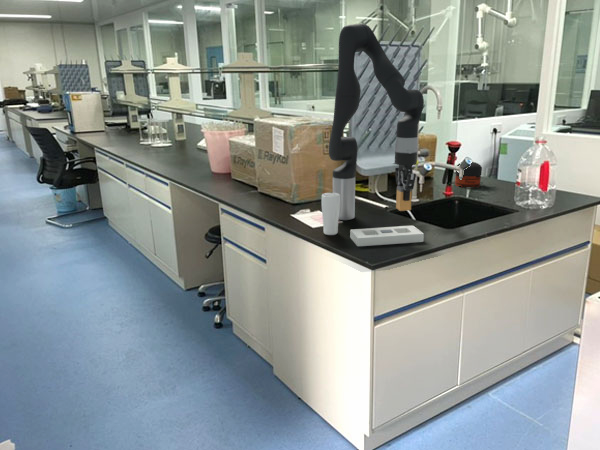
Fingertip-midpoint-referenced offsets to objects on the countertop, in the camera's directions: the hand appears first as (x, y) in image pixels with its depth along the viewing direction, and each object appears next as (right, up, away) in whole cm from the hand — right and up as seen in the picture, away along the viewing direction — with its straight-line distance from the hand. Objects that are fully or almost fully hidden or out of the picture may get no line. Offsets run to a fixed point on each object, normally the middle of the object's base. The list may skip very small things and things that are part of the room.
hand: (403, 198), depth 168 cm
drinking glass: (-25, -13, +11) cm, 30 cm away
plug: (0, -4, +1) cm, 4 cm away
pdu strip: (-6, -14, +3) cm, 16 cm away
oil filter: (+52, +12, +86) cm, 101 cm away
